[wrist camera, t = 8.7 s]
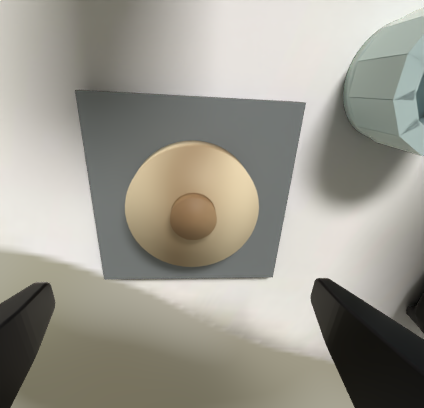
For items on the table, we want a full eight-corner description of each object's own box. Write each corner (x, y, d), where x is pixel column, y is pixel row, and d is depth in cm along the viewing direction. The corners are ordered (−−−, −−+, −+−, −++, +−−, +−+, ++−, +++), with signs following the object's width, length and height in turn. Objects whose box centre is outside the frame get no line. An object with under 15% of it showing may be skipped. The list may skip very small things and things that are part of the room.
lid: (259, 142, 14) (272, 153, 12) (245, 251, 17) (253, 275, 15) (126, 137, 13) (113, 147, 11) (135, 251, 16) (127, 276, 14)
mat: (301, 101, 14) (305, 102, 13) (270, 271, 19) (272, 277, 18) (79, 89, 13) (75, 90, 12) (106, 273, 18) (104, 279, 17)
